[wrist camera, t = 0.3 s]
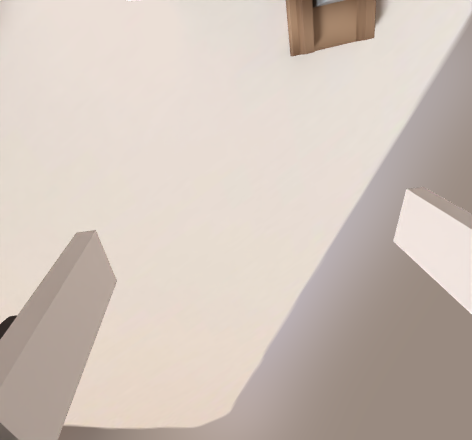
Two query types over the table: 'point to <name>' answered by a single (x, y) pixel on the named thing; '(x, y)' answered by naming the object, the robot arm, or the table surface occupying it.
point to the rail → (328, 23)
